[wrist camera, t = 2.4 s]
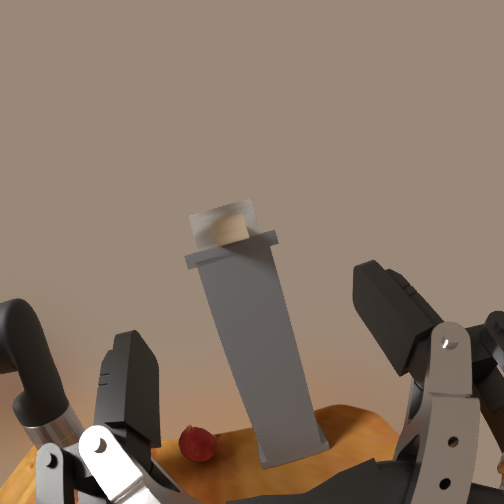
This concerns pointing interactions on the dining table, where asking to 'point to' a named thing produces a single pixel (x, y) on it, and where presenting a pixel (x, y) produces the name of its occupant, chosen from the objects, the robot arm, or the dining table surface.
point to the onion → (197, 444)
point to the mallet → (224, 225)
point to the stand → (260, 346)
